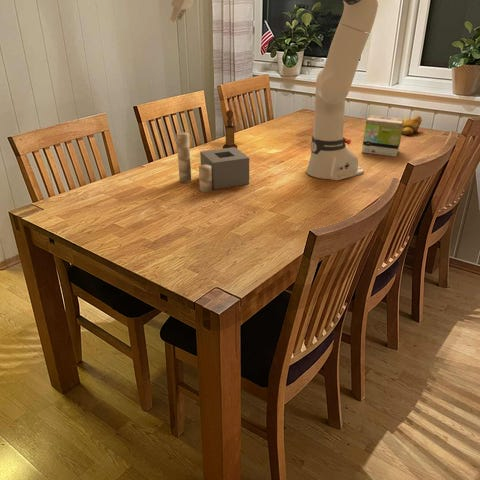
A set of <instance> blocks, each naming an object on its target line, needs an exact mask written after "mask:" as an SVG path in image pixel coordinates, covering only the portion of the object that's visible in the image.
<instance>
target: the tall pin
mask: <svg viewBox="0 0 480 480" xmlns="http://www.w3.org/2000/svg"><path fill="white" fill-rule="evenodd" d="M176 147H177V160H178V161H177V162H178V177H179V179H178V180H179V183H182V184H189V183H191V182H192V169H191V153H190V152H191V151H190V134H189V132H186V131H184V132H183V131H181V132H177V133H176Z"/></svg>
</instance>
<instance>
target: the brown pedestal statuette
mask: <svg viewBox="0 0 480 480" xmlns="http://www.w3.org/2000/svg"><path fill="white" fill-rule="evenodd" d="M225 115H226V117H227V120H226V121H227V125H226V126H225V143H224V145H223V146H222V149H224V148H232V147H235V148H237V149H238V146H237V144H236V143H235V125H233V120H232V118H233V116H234V112H233V110H231V109H228V110H227V111H226V113H225Z"/></svg>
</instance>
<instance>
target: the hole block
mask: <svg viewBox="0 0 480 480" xmlns="http://www.w3.org/2000/svg"><path fill="white" fill-rule="evenodd" d="M199 152H200V153H199V154H200V165H210V166H211V170H212V190H218V189H225V188H229V187H238V186H243V185H249V184H250V157H249V156H247V155H246V154H245V153H244V152H242V151H240V149H238V147H237V148H235V147H232V148H224V149H223V148H218V149H217V148H216V149H210V150H202V151H199Z"/></svg>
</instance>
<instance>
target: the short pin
mask: <svg viewBox="0 0 480 480" xmlns="http://www.w3.org/2000/svg"><path fill="white" fill-rule="evenodd" d="M198 177H199V179H198V180H199V192H200V193H202V194H203V193H204V194H208V193H211V192H213V188H212V170H211V166H210V165H201V164H200V165H199V166H198Z"/></svg>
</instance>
